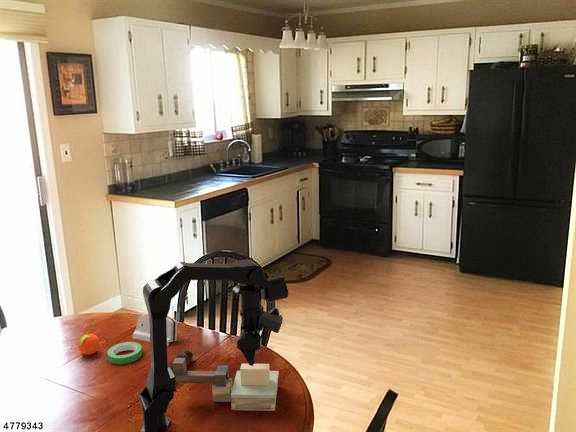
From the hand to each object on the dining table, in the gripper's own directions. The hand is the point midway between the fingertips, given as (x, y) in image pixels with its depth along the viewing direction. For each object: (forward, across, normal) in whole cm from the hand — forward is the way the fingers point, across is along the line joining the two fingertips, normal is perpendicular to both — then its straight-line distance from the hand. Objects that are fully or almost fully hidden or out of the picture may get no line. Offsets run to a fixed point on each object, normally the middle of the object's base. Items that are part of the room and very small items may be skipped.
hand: (253, 356), depth 143 cm
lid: (+9, 0, 0) cm, 9 cm away
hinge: (+13, +38, +40) cm, 56 cm away
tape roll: (+13, +24, +47) cm, 54 cm away
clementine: (+13, +25, +60) cm, 66 cm away
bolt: (+13, +15, +26) cm, 33 cm away
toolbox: (+13, 0, +3) cm, 13 cm away
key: (+8, 0, +17) cm, 19 cm away
